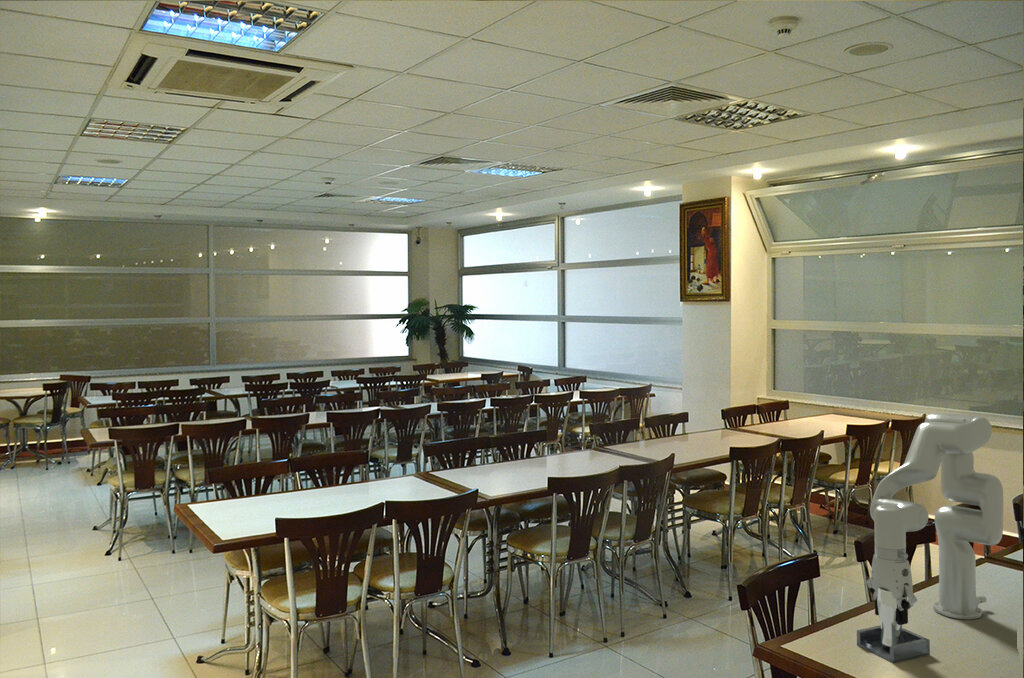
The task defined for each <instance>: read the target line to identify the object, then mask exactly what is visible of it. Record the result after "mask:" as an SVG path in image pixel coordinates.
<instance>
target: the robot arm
mask: <svg viewBox="0 0 1024 678" xmlns="http://www.w3.org/2000/svg"><path fill="white" fill-rule="evenodd" d="M992 429H993V428H992V425H991V423H990V421H989V420H988V419H987V418H986V417H984V416H980V415H970V414H958V413H945V412H944V413H943V412H937V413H936V412H934V413H930V414H928V415H927V416H926V417H925V420H924V422H921V423H920V424H919V425H918V426H917V428H916V430H915V433H914V435H913V438H912V441H911V443H910V447H909V448H908V451H907V454H906V457H905V460H904V462H903V463H902V465H901V466H899V467H897V468H895V469H894V470H892V471H891V472H889V473H888V474H887V475H886V476H885V477H883V478H882V479H881V480H880V482H879V483H878V485H877V487H876V488H875V491H874V494H873V496H872V499H871V501H870V507H869V514H870V518H871V519H872V520H873V522H874V525H873V526H874V529H873V530H874V554H873V557H872V562H871V574H870V578H868V579H867V580H866V582H865V583H866V585H867V586H868V588H869V591H870V593H871V594H872V599H873V600H874V614H875V616H879V613H878V607H877V594H878V587H880V588H881V589H883V590H886V591H891V592H892V596H893V598H895V599H896V602H897V605H898V608H899V609H898V610H897V624H898V625H903V624H904V625H907V624H908V623H909V610H910V609H911V608H912V607H913V606H914V605H915V604H916V603H917V602H918V598H917V597H916V596H915V594H914V589H913V588H914V587H913V586H914V585H913V576H912V570H911V565H910V562H909V561H910V560H908V557H909V555H908V553H907V541H906V540H907V536H906V535H907V532H908V533H909V532H917V531H921V530H922V529H924V528H925V527H926V526H927V524H928V523H929V522H928V521H929V512H928V510H927V508H926V507H925V506H924V505H923V504H921V503H917V502H913V501H908V500H902V499H897V498H893V496H894V495H895V494H896V493H898V492H899V491H900V490H902V489H904V488H907V487H910V486H911V487H912V486H914V485H918V484H922V483H926V482H929V481H932V480H934V479H935V478H936V477H937V475H938V472H939V470H940V491H941V495H942V497H943V498H944V499H946V500H948V501H951V502H955V503H960V504H965V505H970V506H971V505H973V506H978V507H979V508H980V509H974V508H970V507H964V506H963V507H962V506H958V505H944V506H941V507H939V508H938V509H937V510H936V512H935V514H934V525H935V529H936V530H935V531H936V536H937V541H938V584H939V585H938V588H939V589H938V593H939V594H938V595H939V597H938V599H939V600H938V601H936V602H934V603H933V610H934V611H935V612H936V613H938V614H940V615H942V616H945V617H947V618H948V617H949V618H954V619H959V620H975V619H979V618H981V617H982V616H983V610H982V609H981V608H979V605H980V604H984V603H986V602H987V597H986V596H984V595H980V596H977V591H976V590H977V589H976V588H977V587H976V585H977V581H976V578H977V577H976V572H977V571H976V570H977V568H976V567H977V566H976V565H977V563H976V560H977V559H976V552H975V550H974V549H973V547H972V545H971V544H970V542H971V543H975V544H980V545H981V544H982V545H985V546H986V545H987V546H995V545H998V544H999V543H1000V542H1001V540H1002V538H1003V534H1004V488H1003V485H1002V484H1003V483H1002V482H1001V480H1000V479H999V477H997V476H995V475H994V474H990V473H986V472H985V473H984V472H977V471H975V467H974V466H975V465H974V464H975V463H974V457H975V456H974V452H975V451H977V450H979V449H981V448H983V447H985V445H987V444H988V443H989V441H990V439H991V437H992ZM939 468H940V469H939ZM903 594H904V597H902V595H903ZM903 599H904V604H903V605H902V602H901V600H903Z"/></svg>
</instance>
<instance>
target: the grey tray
mask: <svg viewBox="0 0 1024 678" xmlns="http://www.w3.org/2000/svg"><path fill="white" fill-rule="evenodd" d="M880 635H881V624H880V625H876V626H871V627H866V628H862V629H857V630H856V645H857V646H858V647H860V648H862V649H864V650H867V651H868V652H871V653H872V654H875V655H876V656H878V657H881V658H883V659H884V660H886V661H888V662H890V663H892V664H897V663H901V662H905V661H909V660H914V659H918V658H923V657H927V656H930V655H931V650H930V649H931V646H930V645H931V642H930V639H928V638H926V637H925V636H922V635H920V634H917V633H915V632H914V631H911V630H909V629H906V628H904V627H903V637H904V642H905V643H902V644H897V645H893V646H890V647H888V646H885V645H883V644H881V643H880Z"/></svg>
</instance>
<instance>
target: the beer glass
mask: <svg viewBox="0 0 1024 678" xmlns="http://www.w3.org/2000/svg"><path fill="white" fill-rule="evenodd" d="M902 597H904V594H903V595H902ZM901 602H902V605H903V604H904V599H903V600H901ZM877 607H878V613H879V615H878V617H879V623H880V625H881V635H880V643H881V644H883V645H885V646H888V647H890V646H893V645H897V644H902V643H905V642H904V637H903V628H904V626H905V624H903V625H898V624H897V610H898V609H899V608H898V605H897V602H896V599H895V598H893V596H892V592H891V591H886V590H883V589H881V588H880V587H878V594H877Z"/></svg>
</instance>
